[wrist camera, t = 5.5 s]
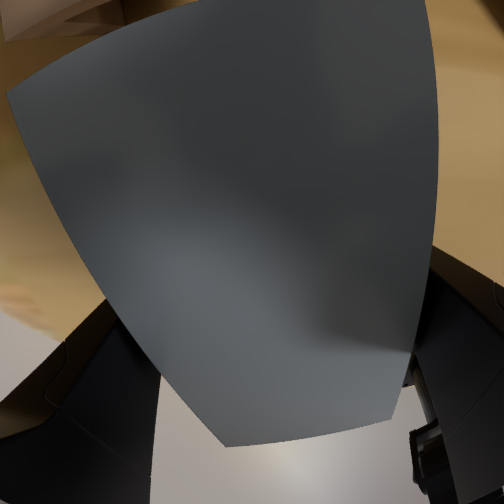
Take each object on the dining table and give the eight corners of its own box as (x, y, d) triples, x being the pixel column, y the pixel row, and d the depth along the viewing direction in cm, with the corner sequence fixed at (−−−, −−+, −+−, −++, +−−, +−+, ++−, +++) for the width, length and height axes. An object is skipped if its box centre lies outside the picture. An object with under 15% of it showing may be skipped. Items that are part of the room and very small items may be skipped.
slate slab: (365, 336, 13) (391, 419, 10) (227, 362, 13) (225, 447, 10) (339, 5, 6) (420, -19, 3) (102, 65, 6) (5, 92, 3)
